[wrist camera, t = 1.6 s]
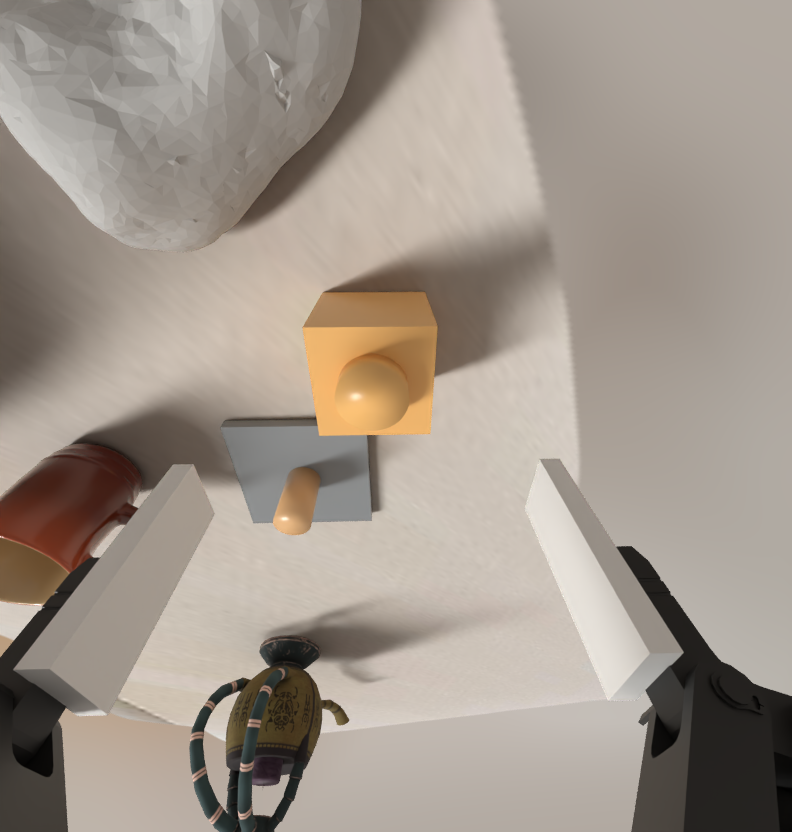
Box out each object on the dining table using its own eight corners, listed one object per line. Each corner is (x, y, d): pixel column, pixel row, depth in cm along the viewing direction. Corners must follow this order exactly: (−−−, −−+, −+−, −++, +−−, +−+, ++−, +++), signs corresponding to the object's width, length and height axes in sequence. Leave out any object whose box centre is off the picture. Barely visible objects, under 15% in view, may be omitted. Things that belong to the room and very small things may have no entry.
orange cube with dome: (322, 292, 24) (295, 339, 16) (424, 291, 24) (441, 337, 17) (333, 382, 28) (314, 452, 20) (420, 381, 28) (433, 450, 21)
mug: (49, 483, 33) (-69, 588, 24) (50, 415, 29) (-93, 513, 20) (182, 521, 36) (120, 625, 28) (200, 465, 32) (133, 567, 24)
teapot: (285, 613, 47) (217, 910, 28) (376, 677, 60) (372, 912, 40) (218, 635, 50) (114, 918, 31) (318, 691, 63) (289, 917, 43)
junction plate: (224, 420, 29) (192, 469, 24) (366, 418, 30) (362, 466, 25) (256, 515, 36) (235, 568, 31) (371, 513, 36) (370, 565, 31)
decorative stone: (186, 304, 21) (-61, 222, 12) (116, 175, 22) (-167, -2, 12) (425, 105, 17) (356, -267, 8) (329, -41, 18) (160, -540, 9)
